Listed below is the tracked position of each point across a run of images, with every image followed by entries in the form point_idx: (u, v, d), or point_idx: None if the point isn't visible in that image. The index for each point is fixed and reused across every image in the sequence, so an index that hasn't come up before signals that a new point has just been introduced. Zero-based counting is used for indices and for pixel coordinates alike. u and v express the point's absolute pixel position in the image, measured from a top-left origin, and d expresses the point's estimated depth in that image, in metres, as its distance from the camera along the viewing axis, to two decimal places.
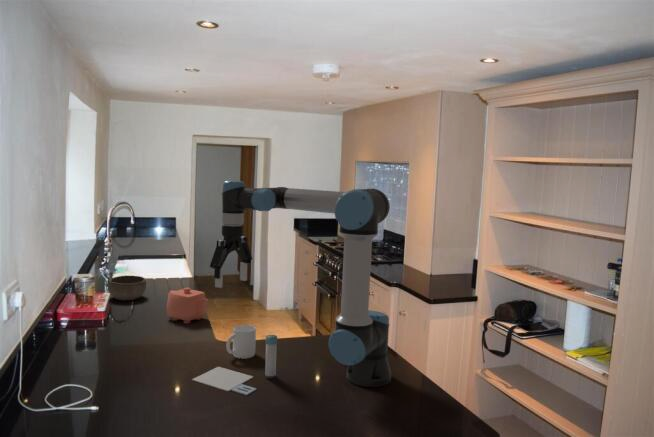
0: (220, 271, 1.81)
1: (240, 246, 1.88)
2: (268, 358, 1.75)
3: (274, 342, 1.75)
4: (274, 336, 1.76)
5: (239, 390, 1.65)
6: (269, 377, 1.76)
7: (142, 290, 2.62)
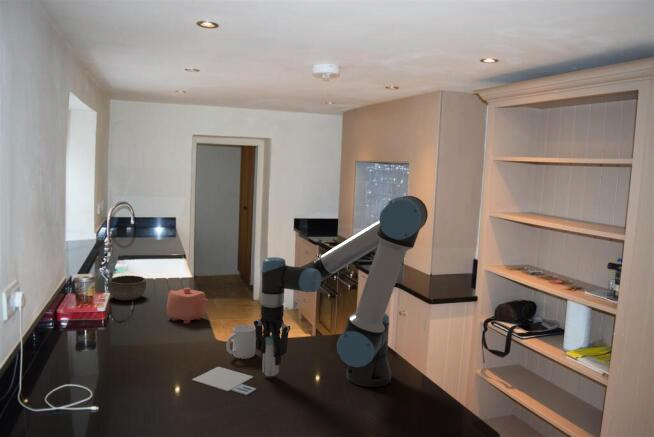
0: None
1: (272, 331, 1.73)
2: (268, 358, 1.75)
3: None
4: None
5: (239, 390, 1.65)
6: (269, 377, 1.76)
7: (142, 290, 2.62)
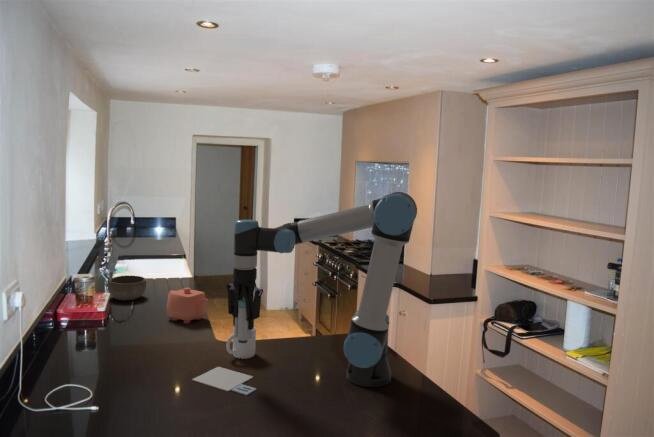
0: None
1: (245, 294, 1.70)
2: (240, 322, 1.72)
3: None
4: None
5: (239, 390, 1.65)
6: (241, 341, 1.73)
7: (142, 290, 2.62)
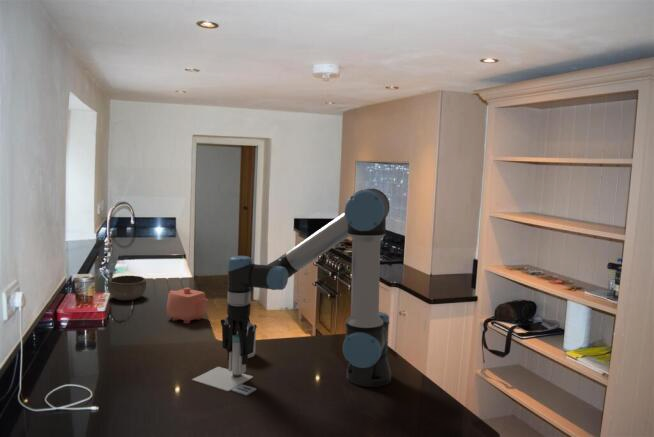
0: None
1: (238, 329, 1.72)
2: (234, 357, 1.74)
3: None
4: None
5: (239, 390, 1.65)
6: (236, 376, 1.75)
7: (142, 290, 2.62)
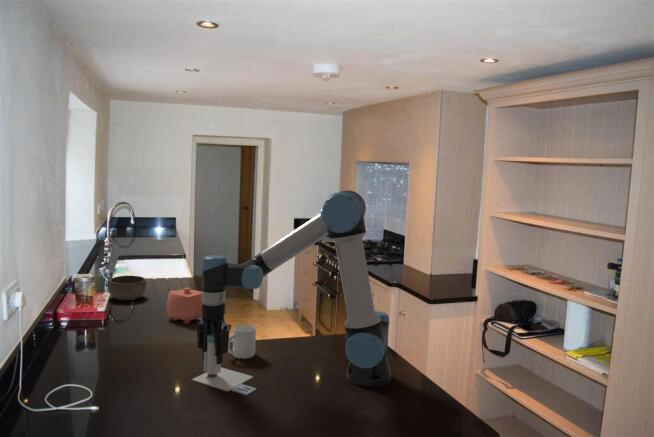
0: None
1: (213, 329, 1.72)
2: (209, 356, 1.73)
3: None
4: None
5: (239, 390, 1.65)
6: (210, 375, 1.74)
7: (142, 290, 2.62)
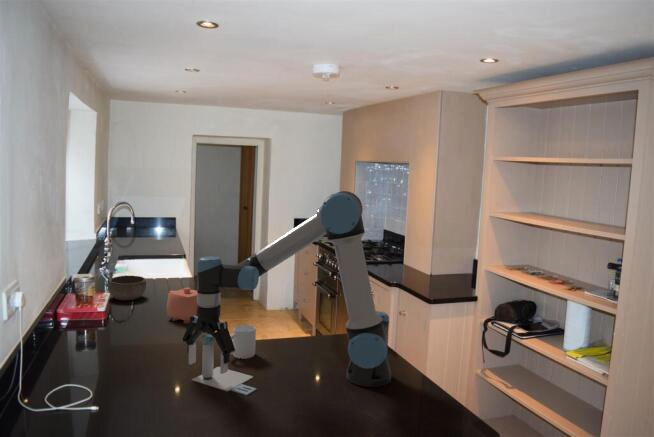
0: None
1: (210, 331, 1.69)
2: (205, 359, 1.71)
3: (211, 342, 1.71)
4: (211, 336, 1.73)
5: (239, 390, 1.65)
6: (206, 378, 1.72)
7: (142, 290, 2.62)
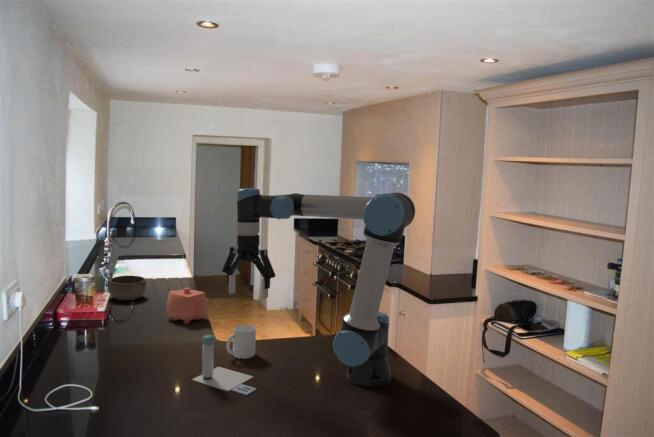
0: None
1: (251, 258, 1.77)
2: (205, 359, 1.71)
3: (211, 342, 1.71)
4: (211, 336, 1.73)
5: (239, 390, 1.65)
6: (206, 378, 1.72)
7: (142, 290, 2.62)
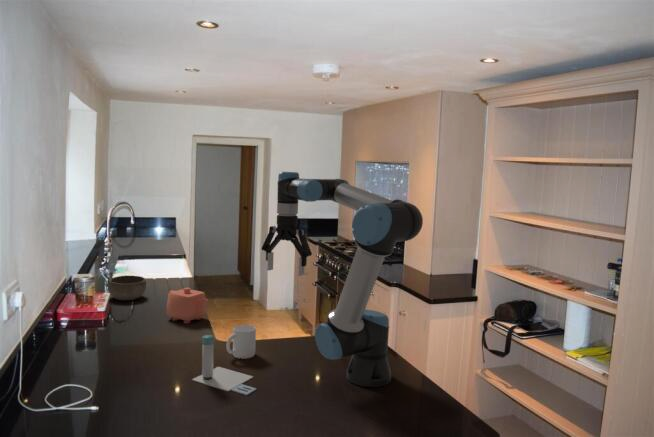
0: None
1: (289, 237, 1.89)
2: (204, 359, 1.71)
3: (211, 342, 1.71)
4: (211, 336, 1.73)
5: (239, 390, 1.65)
6: (206, 378, 1.72)
7: (142, 290, 2.62)
